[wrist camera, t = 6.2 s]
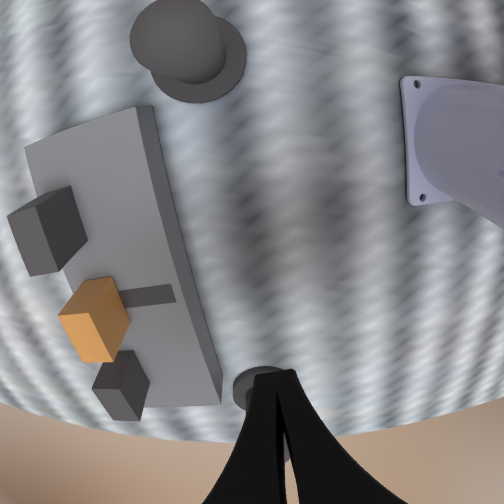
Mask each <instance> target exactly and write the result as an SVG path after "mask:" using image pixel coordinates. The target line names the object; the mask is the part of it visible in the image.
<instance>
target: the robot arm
mask: <svg viewBox="0 0 504 504" xmlns="http://www.w3.org/2000/svg"><path fill="white" fill-rule="evenodd" d="M414 81H416V82H417V83H418V87H417V88H415V87H414ZM400 87H401V95H402V105H403V116H404V128H405V143H406V166H407V201H408V202H409V203H410V204H411V205H413V206H419V205H427V204H435V203H443V202H451V201H458V202H460V203H462V204H464V205H465V206H467V207H469V208H470V209H472V210H474V211H475V212H477V213H478V214H480V215H482V216H483V217H485V218H486V219H488V220H490V221H491V222H493V223H494V224H496V225H497V226H499V227H500V228H502V229H503V230H504V86H503V85H497V84H491V83H484V82H477V81H469V80H460V79H450V78H438V77H423V76H404V77H403V78H402V79H401V81H400ZM421 194H423V198H422V199H421V200H420V199H419V197H420V195H421ZM284 434H285V438H286V443H287V447H288V451H289V455H290V459H291V463H292V467H293V471H294V475H295V479H296V484H297V490H298V497H299V504H408V503H406V502H405V501H403V500H402V499H400V498H398V497H397V496H396V495H394V494H393V493H392V492H390V491H389V490H388V489H386V488H385V487H384V486H383V485H381V484H380V483H379V482H378V481H377V480H375V479H374V478H373V477H372V476H371V475H370V474H369V473H368V472H366V471H365V470H364V469H363V468H362V467H361V466H360V465H359V464H358V463H357V462H356V461H355V460H354V459H353V458H352V457H351V456H350V455H349V454H348V453H347V452H346V450H345V449H344V448H343V447H342V446H341V445H340V444H339V442H338V441H337V440H336V439H335V438H334V436H333V435H332V434H331V432H330V431H329V430H328V428H327V427H326V426H325V424H324V423H323V422H322V420H321V419H320V417H319V416H318V414H317V413H316V411H315V409H314V408H313V406H312V405H311V403H310V401H309V400H308V398H307V396H306V394H305V392H304V390H303V388H302V386H301V384H300V382H299V380H298V377H297V374H296V371H295V370H293V369H288V370H282V371H275V372H269V373H262V374H256V375H255V376H254V383H253V389H252V395H251V399H250V403H249V407H248V410H247V414H246V417H245V420H244V423H243V426H242V429H241V432H240V434H239V437H238V439H237V442H236V444H235V447H234V449H233V452H232V454H231V456H230V458H229V460H228V462H227V464H226V466H225V468H224V470H223V472H222V474H221V475H220V477H219V478H218V480H217V482H216V484H215V485H214V487H213V489H212V490H211V492H210V493H209V495H208V496H207V498H206V499H205V500H204V502H203V503H202V504H287V499H286V489H285V456H284Z"/></svg>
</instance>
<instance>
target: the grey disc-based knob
mask: <svg viewBox="0 0 504 504" xmlns="http://www.w3.org/2000/svg"><path fill="white" fill-rule="evenodd" d="M130 46H131V50H132V53H133V55H134V57H135V58H136V60H137V61H138V62H139V63H140V64H141V65H142V66H144V67H145V68H147V69H149V70H150V71H151V74H152V77H153V79H154V81H155V83H156V84H157V86H158V87H159V88H160V89H161V90H162V91H163V92H164V93H165V94H167V95H168V96H170V97H172V98H174V99H176V100H179V101H182V102H188V103H205V102H210V101H213V100H216V99H218V98H220V97H222V96H224V95H225V94H227V93H228V92H229V91H231V90H232V89H233V88H234V87H235V86H236V84H237V83H238V82H239V80H240V79H241V77H242V75H243V72H244V69H245V65H246V48H245V44H244V41H243V39H242V37H241V35H240V33H239V32H238V31H237V29H236V28H235V27H234V26H233V25H231V24H230V23H229V22H227V21H226V20H224V19H222V18H219V17H216V16H214V15H213V13H212V12H211V10H210V9H209V8H208V6H206V5H205V4H204V3H203V2H201V1H200V0H157V1H155V2H153V3H152V4H150V5H149V6H147V7H146V8H145V9H144V10H143V11H142V12H141V13H140V14H139V15H138V17H137V18H136V20H135V22H134V24H133V26H132V29H131V33H130Z"/></svg>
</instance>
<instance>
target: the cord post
mask: <svg viewBox="0 0 504 504" xmlns="http://www.w3.org/2000/svg"><path fill="white" fill-rule="evenodd" d="M275 371H282V369H279V368H276V367H269V366H262V367H255V368H251V369H249V370H246V371H244V372H243V373H241V374H240V375H239V376H238V377H237V378H236V379H235V381H234V385H233V399H234V401H235V403H236V404H237V405H238V406H239V407H240V408H242V409H243V410H245V411H246V414H247V410H248V407H249V403H250V399H251V395H252V389H253V383H254V376H255V375H256V374H262V373H269V372H275ZM284 456H285V462H287V461H288V460H289V459H290V455H289V451H288V447H287V443H286V438H285V434H284Z"/></svg>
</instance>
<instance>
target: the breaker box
mask: <svg viewBox="0 0 504 504" xmlns="http://www.w3.org/2000/svg"><path fill="white" fill-rule="evenodd" d="M24 148H25V153H26V157H27V161H28V165H29V169H30V173H31V176H32V180H33V184H34V187H35V191H36V194H37V198H36V199H34V200H32V201H31V202H29V203H27V204H26V205H24V206H22V207H21V208H19V209H17V210H16V211H14V212H13V213H11V214H9V215H8V216H7V218H8V221H9V224H10V227H11V230H12V233H13V235H14V238H15V241H16V243H17V246H18V249H19V251H20V254H21V256H22V259H23V261H24V264H25V266H26V268H27V271H28V273H29V275H30V277H31V276H37V275H43V274H48V273H54V272H59V271H60V270H61V269H62V268H63V271H64V273H65V275H66V278H67V280H68V283H69V285H70V287H71V289H72V292H73V294H74V293H75V292H76V290H77V289H78V288H79V286H80V285H81V284H82V282H83V281H86V280H93V279H99V278H106V277H112V278H113V280H114V283H115V286H116V288H117V291H118V293H119V296H120V298H121V301H122V303H123V306H124V308H125V310H126V313H127V315H128V317H129V320H130V322H131V323H130V325H129V327H128V329H127V332H126V334H125V336H124V338H123V341H122V343H121V345H120V348H119V350H118V353H117V355H116V357H115V360H114V362H103V363H102V366H101V368H100V370H99V373H98V375H97V377H96V379H95V382H94V384H93V386H92V390H93V392H94V393H95V395H96V396H97V398H98V399H99V401H100V402H101V404H102V405H103V406H104V408H105V409H106V411H107V412H108V413H109V415H110V416H111V417H112V419H113V420H119V421H140V420H141V416H142V412H143V408H144V407H186V406H205V405H219V404H221V397H222V380H223V375H222V372H221V369H220V366H219V362H218V359H217V356H216V353H215V350H214V347H213V343H212V340H211V337H210V334H209V331H208V327H207V324H206V321H205V317H204V314H203V311H202V307H201V304H200V300H199V297H198V293H197V290H196V286H195V283H194V279H193V276H192V272H191V268H190V265H189V261H188V257H187V254H186V250H185V246H184V242H183V238H182V235H181V231H180V227H179V223H178V219H177V215H176V211H175V207H174V203H173V198H172V194H171V190H170V186H169V181H168V177H167V173H166V168H165V164H164V159H163V155H162V150H161V146H160V141H159V136H158V131H157V126H156V121H155V116H154V111H153V106H135V107H132V108H128V109H125V110H122V111H119V112H115V113H112V114H109V115H106V116H103V117H100V118H97V119H94V120H91V121H88V122H86V123H83V124H80V125H77V126H75V127H72V128H69V129H67V130H64V131H61V132H59V133H56V134H54V135H51V136H49V137H47V138H44V139H42V140H39V141H37V142H35V143H33V144H30V145H28V146H26V147H24Z"/></svg>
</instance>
